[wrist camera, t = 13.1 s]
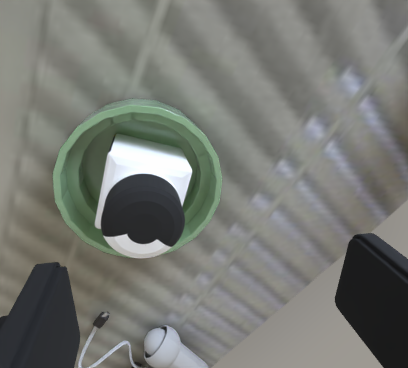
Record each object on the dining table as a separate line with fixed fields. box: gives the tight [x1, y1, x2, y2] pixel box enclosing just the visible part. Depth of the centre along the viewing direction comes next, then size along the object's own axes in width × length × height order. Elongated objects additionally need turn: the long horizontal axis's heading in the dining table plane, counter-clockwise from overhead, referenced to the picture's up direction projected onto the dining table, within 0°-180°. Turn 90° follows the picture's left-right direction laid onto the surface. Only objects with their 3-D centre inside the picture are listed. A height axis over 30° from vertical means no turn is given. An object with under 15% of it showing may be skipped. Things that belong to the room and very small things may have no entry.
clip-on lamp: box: [78, 312, 208, 368], centre depth 39 cm, size 12×6×18 cm
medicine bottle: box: [95, 134, 192, 258], centre depth 26 cm, size 7×7×12 cm
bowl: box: [52, 98, 222, 258], centre depth 29 cm, size 15×15×6 cm
